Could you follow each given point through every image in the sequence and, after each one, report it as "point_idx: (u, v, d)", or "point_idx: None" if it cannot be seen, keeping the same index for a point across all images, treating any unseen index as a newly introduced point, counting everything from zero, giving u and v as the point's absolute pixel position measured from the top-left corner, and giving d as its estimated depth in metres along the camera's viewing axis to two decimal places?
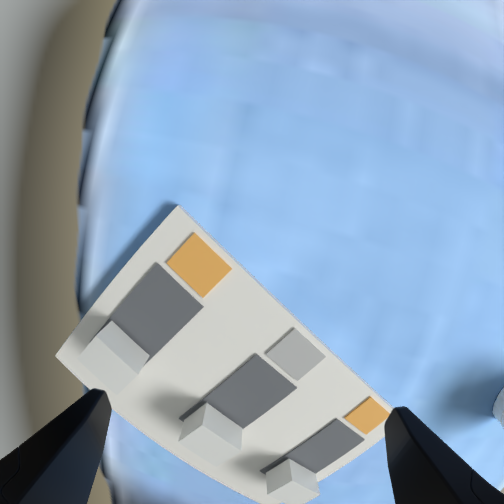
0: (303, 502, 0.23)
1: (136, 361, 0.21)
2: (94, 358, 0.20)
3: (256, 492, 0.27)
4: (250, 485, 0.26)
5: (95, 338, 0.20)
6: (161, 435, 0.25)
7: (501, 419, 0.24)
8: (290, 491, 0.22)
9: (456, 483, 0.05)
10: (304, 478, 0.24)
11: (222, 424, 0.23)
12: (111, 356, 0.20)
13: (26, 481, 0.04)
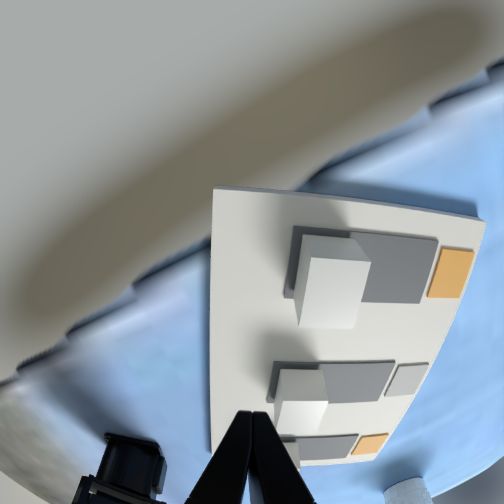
0: None
1: None
2: (334, 277, 0.15)
3: None
4: None
5: (365, 263, 0.15)
6: (228, 362, 0.22)
7: (392, 498, 0.32)
8: None
9: None
10: None
11: None
12: (354, 293, 0.15)
13: None
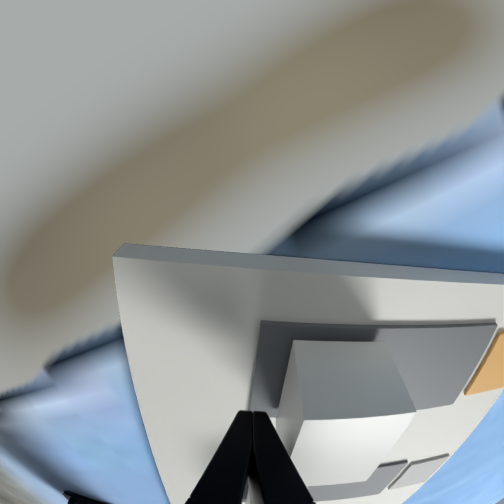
0: None
1: None
2: (346, 439, 0.07)
3: None
4: None
5: (407, 414, 0.07)
6: (179, 467, 0.14)
7: None
8: None
9: None
10: None
11: None
12: (377, 450, 0.07)
13: None
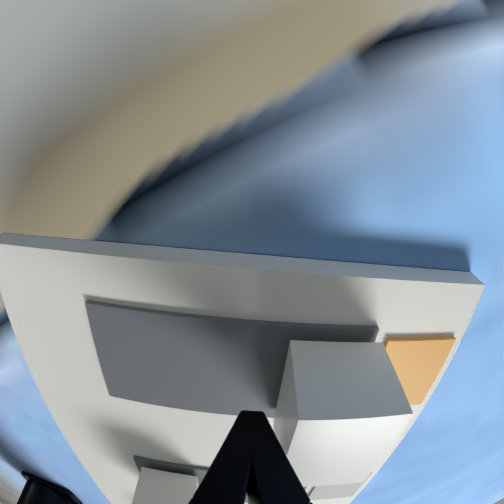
0: None
1: None
2: (341, 440, 0.07)
3: None
4: None
5: (403, 416, 0.07)
6: (83, 444, 0.14)
7: None
8: None
9: None
10: None
11: None
12: (374, 451, 0.07)
13: None
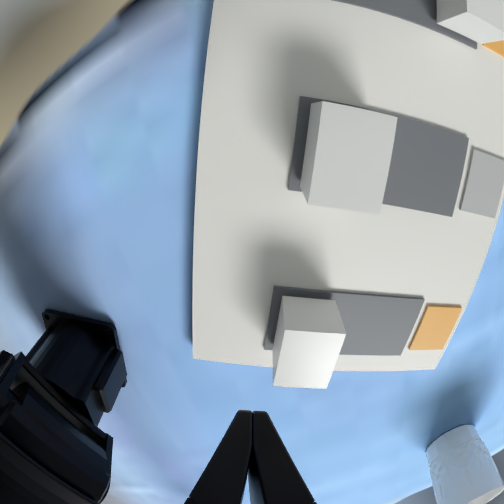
0: (295, 384, 0.16)
1: None
2: None
3: (215, 317, 0.19)
4: (225, 299, 0.18)
5: None
6: (229, 97, 0.14)
7: (442, 453, 0.24)
8: (316, 350, 0.15)
9: None
10: None
11: None
12: None
13: None
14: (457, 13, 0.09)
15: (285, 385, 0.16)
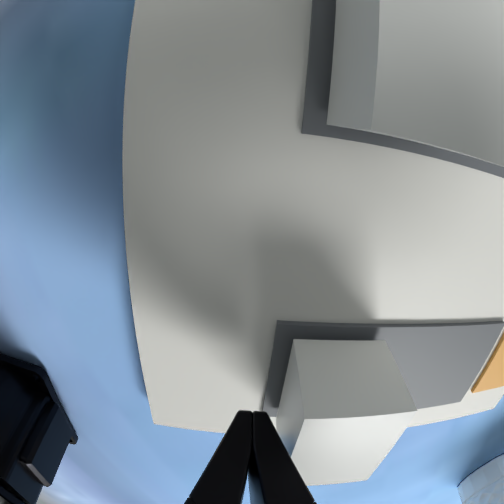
0: (316, 482, 0.08)
1: None
2: None
3: (178, 372, 0.11)
4: (192, 344, 0.10)
5: None
6: None
7: (479, 490, 0.16)
8: (360, 441, 0.07)
9: None
10: None
11: None
12: None
13: None
14: None
15: None
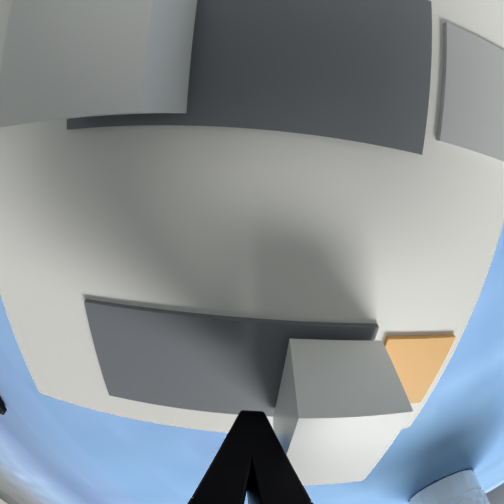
0: (312, 482, 0.08)
1: None
2: None
3: (37, 343, 0.10)
4: (37, 317, 0.10)
5: None
6: (7, 19, 0.06)
7: None
8: (355, 441, 0.07)
9: None
10: None
11: (181, 11, 0.05)
12: None
13: None
14: None
15: None
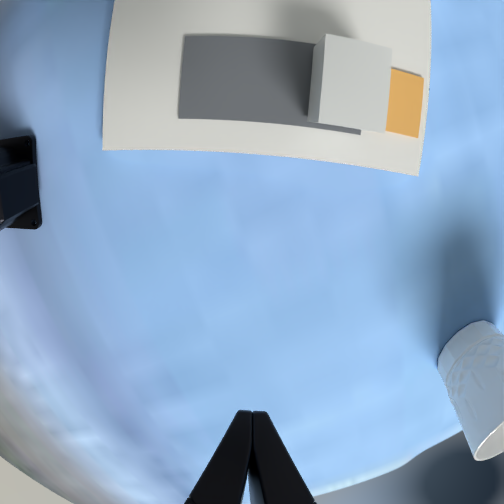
0: (346, 120, 0.12)
1: None
2: None
3: (126, 85, 0.15)
4: (137, 60, 0.14)
5: None
6: None
7: (460, 357, 0.20)
8: (364, 66, 0.11)
9: None
10: None
11: None
12: None
13: None
14: None
15: (333, 124, 0.12)
